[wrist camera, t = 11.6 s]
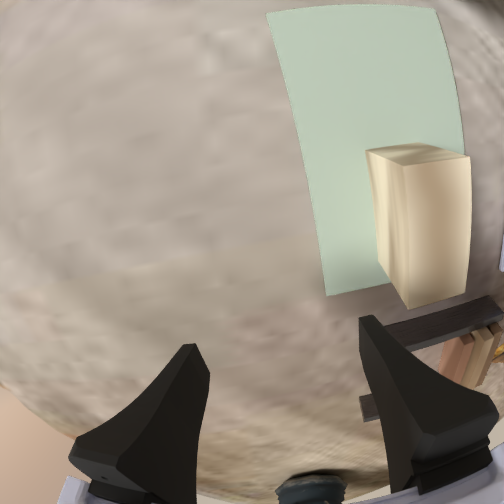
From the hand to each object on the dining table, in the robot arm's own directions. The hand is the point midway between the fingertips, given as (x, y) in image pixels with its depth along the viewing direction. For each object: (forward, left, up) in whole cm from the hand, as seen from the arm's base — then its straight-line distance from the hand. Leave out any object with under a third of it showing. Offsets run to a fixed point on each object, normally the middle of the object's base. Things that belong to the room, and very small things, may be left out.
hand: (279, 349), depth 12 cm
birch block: (-9, -2, -9) cm, 13 cm away
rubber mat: (-9, -6, -9) cm, 14 cm away
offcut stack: (-17, +14, -10) cm, 24 cm away
